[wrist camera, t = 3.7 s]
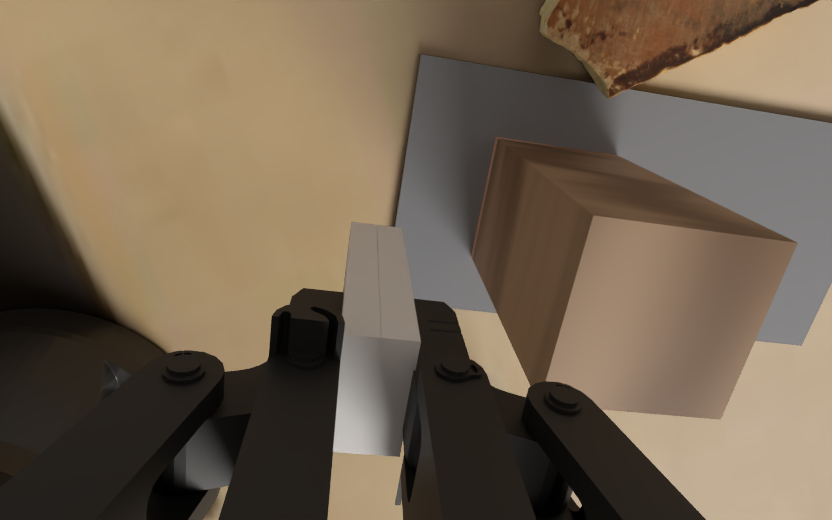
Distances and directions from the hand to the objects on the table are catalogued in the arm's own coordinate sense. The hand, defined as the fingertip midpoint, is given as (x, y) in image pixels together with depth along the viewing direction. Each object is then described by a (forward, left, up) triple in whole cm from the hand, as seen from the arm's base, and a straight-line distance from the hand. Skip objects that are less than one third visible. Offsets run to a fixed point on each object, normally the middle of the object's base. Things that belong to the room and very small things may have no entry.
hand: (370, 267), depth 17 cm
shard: (+11, +11, -11) cm, 19 cm away
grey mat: (+13, 0, -11) cm, 17 cm away
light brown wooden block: (+8, 0, -10) cm, 13 cm away
